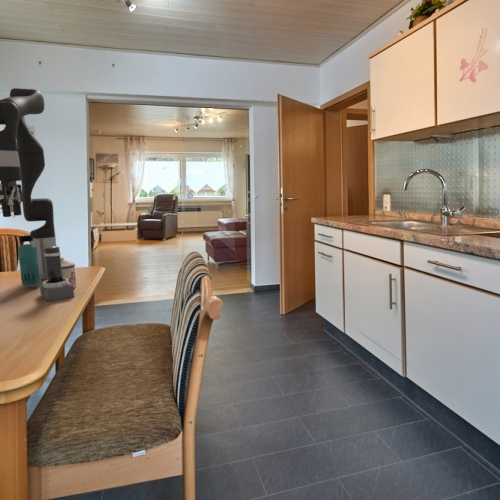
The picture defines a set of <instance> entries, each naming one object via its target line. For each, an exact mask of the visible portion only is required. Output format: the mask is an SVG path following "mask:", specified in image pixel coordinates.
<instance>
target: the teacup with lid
mask: <svg viewBox="0 0 500 500" xmlns="http://www.w3.org/2000/svg"><path fill="white" fill-rule="evenodd" d="M60 258H61V267H62V276H63V278H67V279H69V283H71V285H73V289H76V288H77V279H76V278H77V276H76V268H75V266H76V264H75V263H74V262H71V261H68V260H66V259H65V257H60Z"/></svg>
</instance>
